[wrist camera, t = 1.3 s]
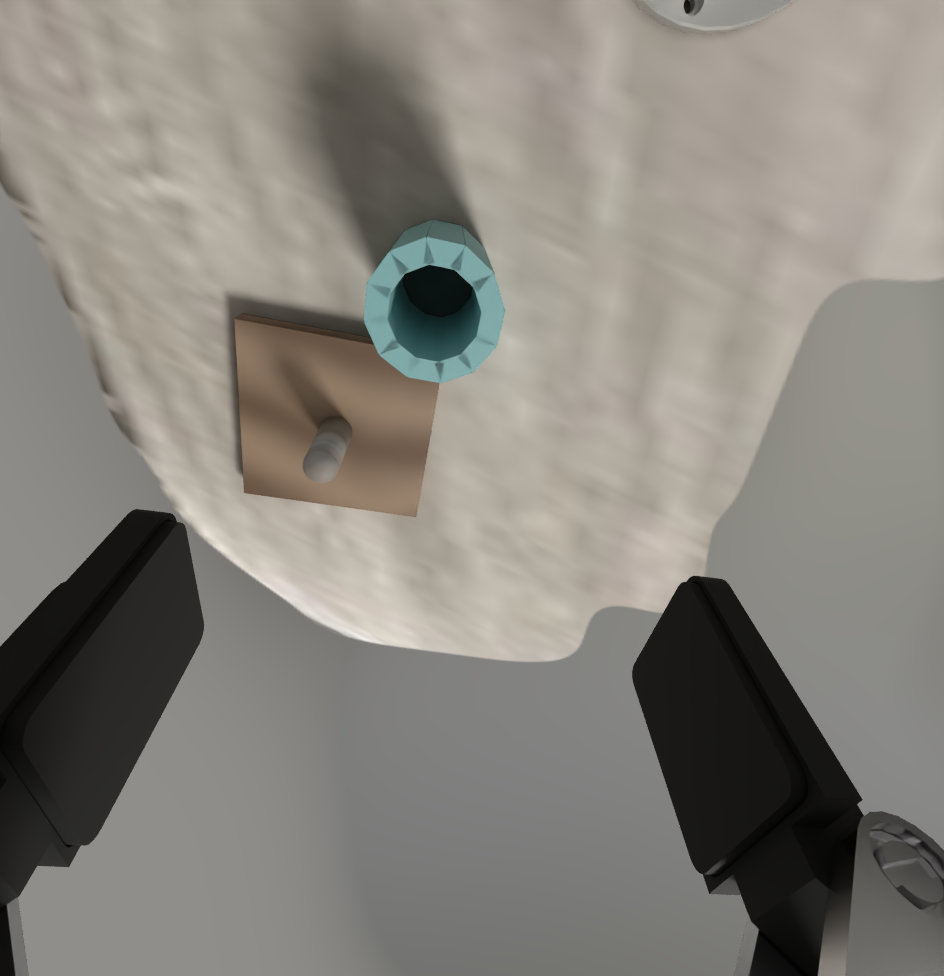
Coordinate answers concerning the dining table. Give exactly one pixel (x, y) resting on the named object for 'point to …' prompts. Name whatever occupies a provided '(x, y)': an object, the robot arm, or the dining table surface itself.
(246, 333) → the pin board
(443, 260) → the sleeve
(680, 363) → the dining table surface
